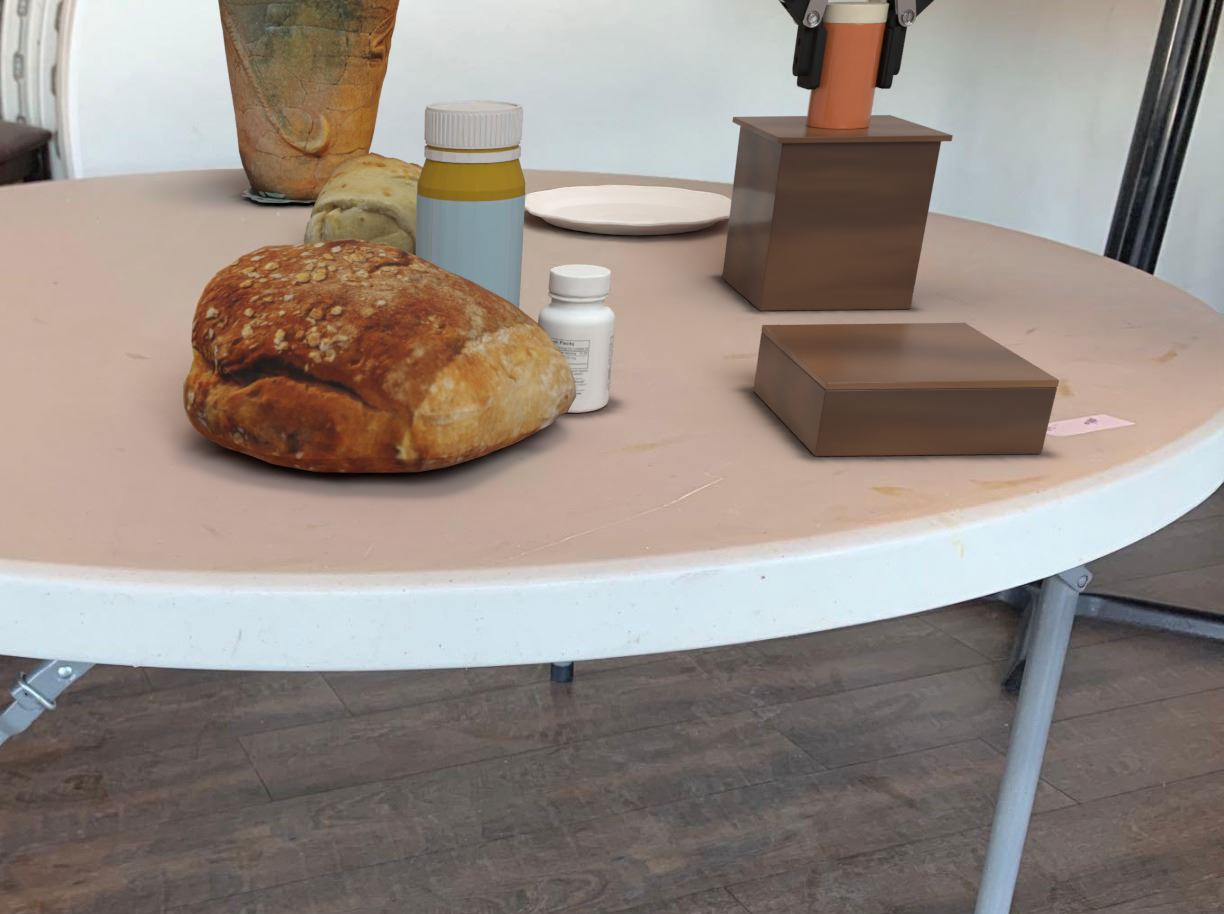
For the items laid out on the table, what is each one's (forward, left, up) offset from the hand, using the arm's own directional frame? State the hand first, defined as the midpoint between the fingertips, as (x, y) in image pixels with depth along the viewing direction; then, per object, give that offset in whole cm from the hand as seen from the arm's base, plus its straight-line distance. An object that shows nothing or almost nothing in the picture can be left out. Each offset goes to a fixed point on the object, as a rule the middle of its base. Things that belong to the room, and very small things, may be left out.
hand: (843, 84), depth 100 cm
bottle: (+7, +30, -15) cm, 34 cm away
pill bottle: (-7, +35, -15) cm, 39 cm away
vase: (+60, 0, -15) cm, 62 cm away
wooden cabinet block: (0, 0, -15) cm, 15 cm away
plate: (+29, -13, -15) cm, 35 cm away
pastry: (+34, +15, -15) cm, 40 cm away
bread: (-4, +47, -15) cm, 49 cm away
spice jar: (0, 0, -3) cm, 3 cm away
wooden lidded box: (-21, +24, -15) cm, 35 cm away
